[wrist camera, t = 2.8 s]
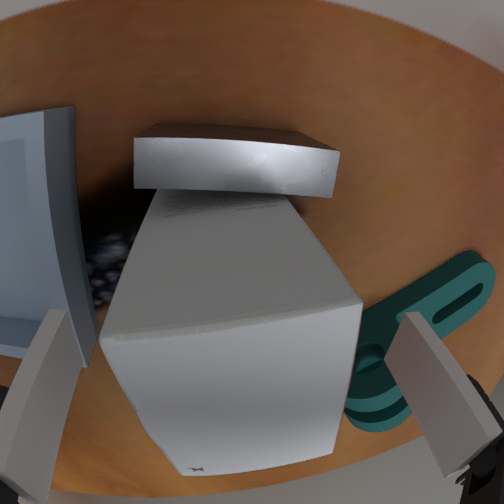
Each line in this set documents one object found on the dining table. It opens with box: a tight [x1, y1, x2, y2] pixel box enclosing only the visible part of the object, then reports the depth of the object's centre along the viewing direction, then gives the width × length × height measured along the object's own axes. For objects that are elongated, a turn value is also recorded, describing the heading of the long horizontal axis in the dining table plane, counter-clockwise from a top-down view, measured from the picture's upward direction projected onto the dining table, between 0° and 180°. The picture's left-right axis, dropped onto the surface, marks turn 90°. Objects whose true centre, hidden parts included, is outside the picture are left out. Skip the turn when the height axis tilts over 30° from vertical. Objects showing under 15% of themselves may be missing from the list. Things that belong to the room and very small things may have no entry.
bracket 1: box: [134, 124, 340, 198], centre depth 17 cm, size 8×14×6 cm, turn 174°
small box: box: [99, 189, 364, 476], centre depth 14 cm, size 8×6×13 cm
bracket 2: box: [344, 251, 495, 432], centre depth 22 cm, size 18×7×8 cm, turn 116°
